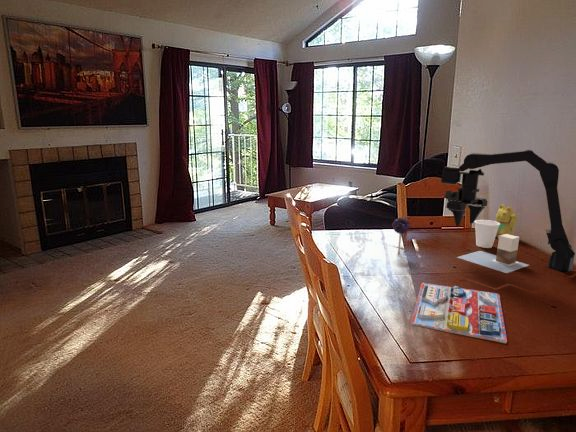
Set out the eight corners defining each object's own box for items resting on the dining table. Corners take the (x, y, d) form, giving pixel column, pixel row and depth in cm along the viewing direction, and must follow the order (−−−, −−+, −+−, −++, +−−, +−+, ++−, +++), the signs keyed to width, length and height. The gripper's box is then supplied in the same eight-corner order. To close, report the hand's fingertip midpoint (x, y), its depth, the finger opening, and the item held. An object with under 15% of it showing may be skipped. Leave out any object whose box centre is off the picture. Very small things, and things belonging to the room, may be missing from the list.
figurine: (486, 234, 197) (490, 203, 194) (500, 233, 200) (505, 203, 196) (504, 241, 187) (509, 208, 183) (519, 239, 189) (524, 208, 186)
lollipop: (405, 251, 170) (409, 216, 166) (408, 256, 163) (412, 220, 160) (388, 250, 170) (391, 215, 167) (391, 256, 164) (394, 219, 160)
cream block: (517, 249, 156) (519, 236, 155) (510, 251, 154) (512, 238, 152) (504, 246, 160) (506, 233, 159) (497, 248, 158) (499, 235, 156)
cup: (501, 250, 173) (504, 225, 170) (477, 250, 173) (480, 225, 170) (490, 243, 182) (493, 219, 180) (467, 243, 183) (470, 219, 180)
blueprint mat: (529, 266, 155) (529, 264, 155) (506, 274, 146) (506, 273, 146) (479, 252, 171) (479, 250, 171) (456, 258, 162) (456, 257, 162)
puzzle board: (421, 285, 137) (422, 278, 136) (498, 298, 128) (499, 290, 128) (409, 327, 110) (410, 317, 109) (506, 346, 101) (508, 336, 100)
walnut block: (515, 262, 157) (517, 249, 156) (508, 264, 155) (510, 251, 153) (502, 258, 161) (504, 246, 160) (495, 260, 159) (497, 248, 158)
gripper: (464, 181, 172) (460, 217, 176) (436, 184, 162) (432, 223, 165) (490, 185, 163) (485, 223, 167) (462, 189, 153) (457, 229, 156)
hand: (464, 224), depth 164 cm, fingers open, 9 cm apart
